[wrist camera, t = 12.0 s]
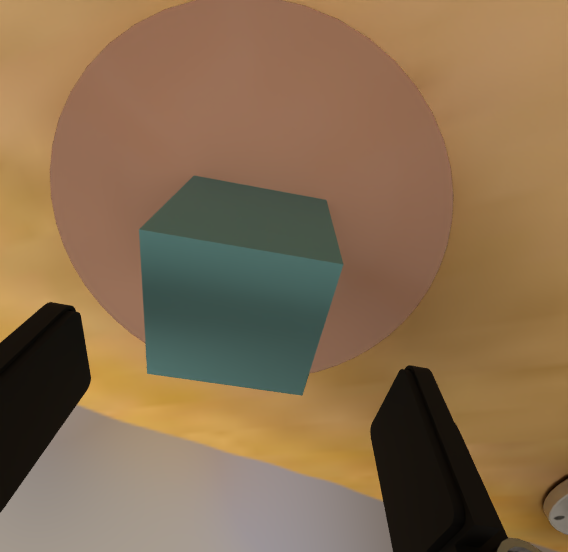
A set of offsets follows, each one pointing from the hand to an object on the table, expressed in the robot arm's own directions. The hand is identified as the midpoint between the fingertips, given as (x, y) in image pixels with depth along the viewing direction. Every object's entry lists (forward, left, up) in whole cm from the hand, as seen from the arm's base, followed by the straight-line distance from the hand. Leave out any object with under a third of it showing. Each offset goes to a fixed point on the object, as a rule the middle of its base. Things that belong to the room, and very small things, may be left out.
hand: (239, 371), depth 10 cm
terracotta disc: (+1, 0, -9) cm, 9 cm away
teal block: (+1, 0, -8) cm, 8 cm away
